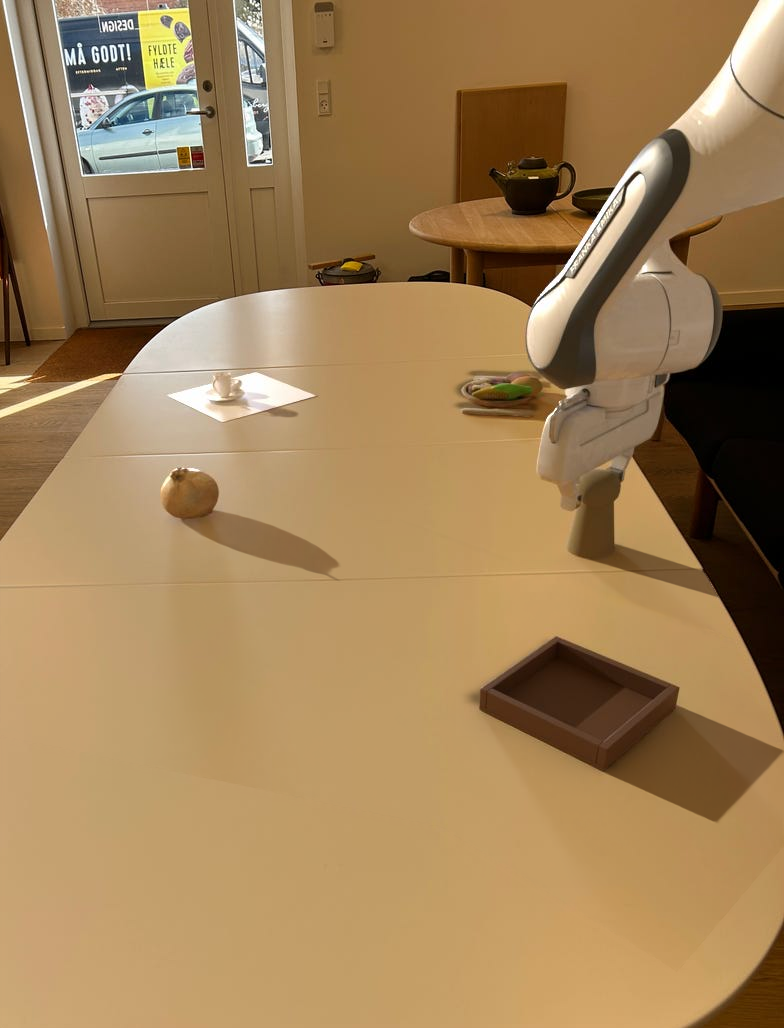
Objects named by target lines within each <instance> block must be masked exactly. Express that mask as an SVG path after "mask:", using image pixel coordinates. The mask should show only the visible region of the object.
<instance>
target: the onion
mask: <svg viewBox="0 0 784 1028" xmlns="http://www.w3.org/2000/svg"><path fill="white" fill-rule="evenodd" d="M219 495H220V490H219V485H218V483H217V482H216V480H215V478H214V477H212V475H210V474H209V473H207V472H205V471H203V470H201V469H197V468H185V467H180V466H177V467H176V468H174V469H173V470H170V473H169V475H168V476H167V477H166V478H165V480H164V482H163V484H162V485H161V488H160V492H159V497H160V501H161V505H162V507H163V509H164V510H165V511H166V512H167V513H168V514H169V515H170V516H172V517H174V518H175V519H176V518H177V519H183V520H192V519H196V518H199V517H200V518H204V517H206V516H208V515H211V514H212V513H213V512H214V509H215V507H216V505H217V504H218V500H219Z"/></svg>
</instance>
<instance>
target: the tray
mask: <svg viewBox="0 0 784 1028" xmlns="http://www.w3.org/2000/svg"><path fill="white" fill-rule="evenodd" d="M679 693H680V686H678V685H676V684H673V683H670V682H668V681H666V680H663V679H661V678H658V677H657V676H653V675H651V674H649V673H646V672H644V671H641V670H639V669H637V668H635V667H632V666H630V665H627V664H624V663H622V662H620V661H618V660H615V659H614V658H613V659H612V658H610V657H608V656H606V655H603V654H601V653H598V652H596V651H593V650H591V649H588V648H586V647H583V646H581V645H579V644H577V643H574V642H572V641H569V640H567V639H564V638H561V637H559V636H554V637H552V638H551V639H549V640H548V641H547V642H545V643H544V644H542V645H540V646H539V647H538V648H537V649H535V650H534V651H532V652H531V653H530V654H528V655H527V656H525V657H523V658H522V659H521V660H519V661H518V662H516V663H515V664H513V665H512V666H511V667H509V668H507V669H506V670H505V671H503V672H502V673H501V674H499V675H498V676H496V677H495V678H493V679H491V681H489V682H488V683H486V684H485V685H483V686H482V687H481V688H480V690H479V705H478V709H479V710H480V711H481V712H483V713H485V714H487V715H489V716H492V717H493V718H496V719H497V720H499V721H502V722H504V723H505V724H507V725H510V726H511V727H513V728H515V729H517V730H519V731H522V732H523V733H526V734H528V735H529V736H531V737H534V738H535V739H537V740H540V741H542V742H543V743H546V744H547V745H550V746H552V747H554V748H555V749H558V750H560V751H562V752H564V753H566V754H567V755H570V756H572V757H574V758H575V759H577V760H579V761H581V762H583V763H585V764H587V765H589V766H592V767H594V768H595V769H597V770H599V771H601V772H605V771H606V770H607V769H608V768H609V767H611V765H613V764H614V763H615V762H616V761H618V759H620V758H621V757H622V756H623V755H624V754H625V753H627V752H628V751H629V750H630V749H631V748H633V747H634V745H636V744H637V743H638V742H639V741H640V740H641V739H643V738H644V737H645V736H646V735H647V734H649V732H650V731H651V730H653V729H654V728H655V727H656V726H657V725H658V724H660V723H661V722H662V721H664V719H666V718H667V717H668V716H669V715H670V714H671V713H672V712H673V711H675V709H676V708H677V702H678V698H679Z"/></svg>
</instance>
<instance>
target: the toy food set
mask: <svg viewBox="0 0 784 1028" xmlns="http://www.w3.org/2000/svg"><path fill="white" fill-rule="evenodd" d="M543 388H544V387H543V384H542V382H541V381H540V377H539V376H532V375H530V374H528V373H524V372H521V371H519V372H518V371H517V372H513V373H510V374H509V375H507V376H494V375H475V376H473V380H472V381H470V382H468V383H466V384H465V385H463V387H462V388H461V394H463V396H464V397H465V398H466V399H467V400H468V401H469V402H471V403H473V404H476V405H480V406H483V405H484V407H491V406H496V407H495V408H492V409H491V408H490V409H489V408H476V407H475V408H473V407H471V408H470V407H463V408H461V409H460V412H461V415H475V416H477V415H479V416H498V415H515V416H514V417H518V416H532V417H533V416H534V415H535V414H534V413H535V411H534V410H532V409H518V408H501V407H500V406H508V407H512V406H511V405H515V406H518V405H517V404H520V405H522V404H521V403H523V404H525V403H527V402H529V401H530V400H531V399H532V398H534V397H535V396H536V395H537V394H540V393H542V391H543ZM528 400H529V401H528ZM526 401H527V402H526ZM524 402H525V403H524ZM533 414H534V415H533ZM516 415H517V416H516Z"/></svg>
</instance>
